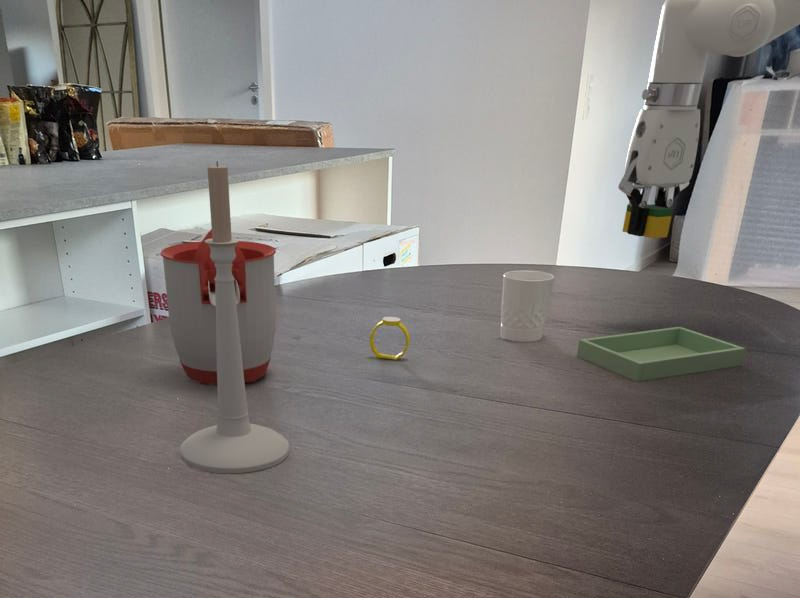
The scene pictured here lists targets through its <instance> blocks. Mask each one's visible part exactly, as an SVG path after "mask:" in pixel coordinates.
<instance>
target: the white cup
mask: <svg viewBox="0 0 800 598" xmlns="http://www.w3.org/2000/svg"><path fill="white" fill-rule="evenodd" d="M554 280H555V275H554V274H552V273H549V272H545V271H541V270H527V269H525V270H522V269H521V270H510V271H506V272H505V273H503V278H502V290H501V292H502V293H501V304H500V305H501V307H500V334H499V339H500V340H507V341H511V342H519V343H532V342H537V341H540V340H541V339H543V333H544V328H545V324H546V321H547V316H548V312H549V308H550V307H549V306H550V301H551V296H552V290H553V287H554V286H553V285H554Z"/></svg>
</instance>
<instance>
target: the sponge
mask: <svg viewBox="0 0 800 598" xmlns="http://www.w3.org/2000/svg"><path fill="white" fill-rule="evenodd" d="M654 205H655V204H654ZM654 205H652V204H648V203H647V206H646V207H645V208H649V211H648V216H647V221H646V226H645V231H644V235H643V236H642V237H645V238H650V239H662V238H667V237H668V235H669V230H670V225H671V220H672V215H673V211H674V209H673V208H671V207H670V208H669V207H668V208H665V207H659V206H654ZM625 210H626V211H625V215H624V221H623V226H622V232H624V233H627V231H628V226H629V220H630V215H631V210H632V206H630V205H629V203H628V204H627V205H626V209H625Z"/></svg>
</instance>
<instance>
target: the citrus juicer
mask: <svg viewBox="0 0 800 598" xmlns="http://www.w3.org/2000/svg"><path fill="white" fill-rule="evenodd" d="M207 239H212V228H211V229H210V230H209V231H207V234H206V235H205V236H204V237H203V239H202V240H201V241H192V242H184V243H179V244H174V245H169V246H167V247H165V248H163V249H162V250H161V251H160V256H161V257H162V260H163V261H162V262H163V271H164V281H165V291H166V292H165V293H166V302H167V312H168V319H169V320H168V321H169V327H170V333H171V336H172V341H173V344H174V347H175V350H176V352H177V355H178V357H179V362H180V364H181V367H182V369H183V370H184V373H185V374H186V377H188V379H190V380H192V381H194V382H197V383H199V384H200V385H203V386H209V385H217V342H216V293H215V280H214V279H215V277H216V274H217V271H216V267H215V262H214V261H213V260H212V259H211V258H210V254H211V249H210V247H209V246H208V244H207V243H205V240H207ZM276 251H277V250H276V248H275V247H274V246H272V245H269V244H266V243H261V242H256V241H246V240H244V241H243V240H240V241H239V242H238V243H237V245H236V246H235V254H236V258H235V259H234V260H233V261H232V269H231V272H232V276H233V277H234V279H235V280H234V286H235V296H236V306H237V315H238V325H239V335H240V344H241V354H242V364H243V373H244V383H254V382H256V381H257V380H258V379H260V378H262V377H263V376H265V374H266V373H267V370H268V368H269V364H270V361H271V358H272V356H271V355H272V351H273V347H274V342H275V334H276V318H277V317H276V313H277V312H276V281H275V254H276V253H277V252H276Z"/></svg>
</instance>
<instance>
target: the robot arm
mask: <svg viewBox="0 0 800 598" xmlns="http://www.w3.org/2000/svg"><path fill="white" fill-rule="evenodd" d="M799 25H800V0H664V2H663V4H662V8H661V12H660V17H659V22H658V28H657V33H656V38H655V42H654V49H653V53H652V60H651V65H650V71H649V76H648V83H647V85H646V86H647V87H646V88H645V89H643V91H642V93H641V98H642V100H644V103H643V104H644V105H643V108H640V111H639V112H638V116H637V118H636V122H635V125H634V128H633V131H632V134H631V139H630V142H629V146H628V150H627V156H626V159H625V165H624V173H623V176H622V178H621V180H620V182H619V184H618V186H617V187H618V189H619V190H620V191H621V192H622V193H623V194H624V195H625V196H626V198H627V199H628V204H629V205H630V206H632V210H631V215H630V220H629V226H628V231H627V232H626V234H628V235H632V236H636V237H644V236H643V235H644V231H645V226H646V221H647V216H648V211H649V208H645V207H646V206H647V204H648V203H649V199H650V195H651V192H652V187H655V195H654V204H651V205H654V206H659V207H665V208H669V207H671V206H672V205H673V201H674V199H675V198H676V197H678V196H677V195H679V193H680V192H682V191H683V190H685V189H686V188H687V187H688V186H689V185H690V180H691V179H692V176H693V171H694V168H695V163H696V157H697V152H698V145H699V140H700V139H699V138H700V129H701V109H700V108H698V105H699V99H700V94H701V91H702V86H703V81H704V77H705V71H706V67H707V64H708V63H707V62H708V57H709V54H717V55H718V54H719V55H724V56H730V57H734V58H738V57H739V58H740V57H744V56H747V55H750V54H752V53H754V52H756V51H757V50H759V49H760V48H762V47H764V46H766V45H767V44H769V43H770V42H772V41H774V40H776V39H777V38H779V37H781V36H783V35H784V34H786V33H787V32H789V31H791V30H793V29H794V28H796V27H798V26H799ZM641 190H642V191H641Z"/></svg>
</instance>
